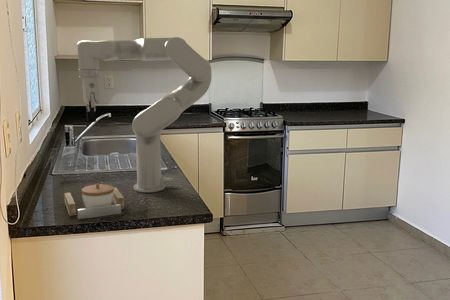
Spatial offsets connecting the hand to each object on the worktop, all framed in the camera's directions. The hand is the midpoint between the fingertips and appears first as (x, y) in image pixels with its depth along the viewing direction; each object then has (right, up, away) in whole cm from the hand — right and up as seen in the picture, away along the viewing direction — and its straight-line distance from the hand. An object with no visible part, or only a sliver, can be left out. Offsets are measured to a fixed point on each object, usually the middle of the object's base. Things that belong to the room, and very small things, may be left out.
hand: (91, 121), depth 189 cm
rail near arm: (+13, -30, -12) cm, 35 cm away
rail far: (-2, -32, -19) cm, 37 cm away
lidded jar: (+8, -32, -19) cm, 38 cm away
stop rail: (+10, -33, -26) cm, 43 cm away
